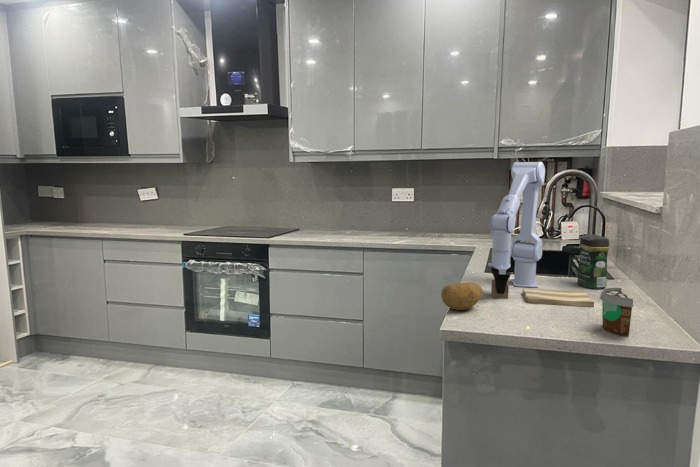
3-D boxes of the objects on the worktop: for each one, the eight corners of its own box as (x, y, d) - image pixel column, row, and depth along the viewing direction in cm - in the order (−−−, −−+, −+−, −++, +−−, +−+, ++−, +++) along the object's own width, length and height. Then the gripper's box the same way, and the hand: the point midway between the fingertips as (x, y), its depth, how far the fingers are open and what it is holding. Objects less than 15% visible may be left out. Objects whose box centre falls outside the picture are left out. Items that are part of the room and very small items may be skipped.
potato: (491, 309, 143) (492, 283, 142) (455, 316, 136) (456, 289, 135) (468, 301, 151) (469, 277, 150) (433, 308, 144) (433, 282, 143)
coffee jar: (573, 283, 175) (576, 233, 173) (593, 282, 176) (597, 232, 174) (588, 290, 166) (592, 237, 163) (610, 289, 167) (614, 236, 164)
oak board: (522, 292, 162) (522, 288, 162) (583, 296, 158) (583, 291, 158) (527, 303, 150) (527, 298, 149) (593, 307, 145) (594, 302, 145)
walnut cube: (491, 293, 161) (491, 279, 160) (506, 294, 160) (507, 280, 159) (492, 297, 156) (492, 282, 155) (508, 298, 155) (508, 283, 154)
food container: (593, 321, 132) (595, 285, 131) (618, 323, 130) (621, 287, 129) (602, 335, 120) (605, 297, 119) (630, 338, 119) (633, 299, 117)
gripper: (487, 246, 164) (486, 285, 165) (489, 254, 150) (488, 296, 151) (509, 247, 162) (507, 286, 164) (513, 254, 148) (511, 297, 150)
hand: (499, 291), depth 157 cm, fingers closed on walnut cube, 5 cm apart
